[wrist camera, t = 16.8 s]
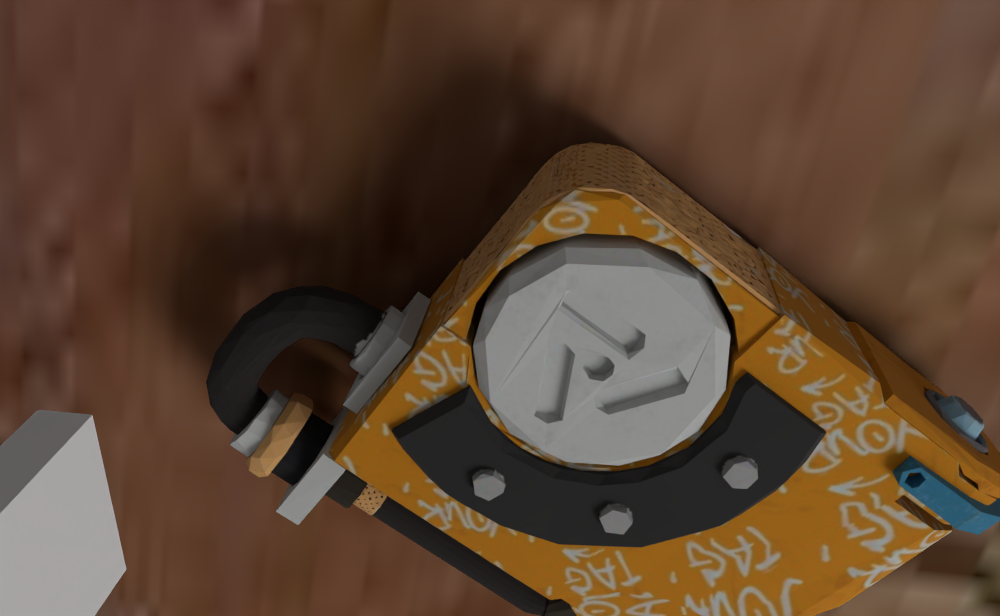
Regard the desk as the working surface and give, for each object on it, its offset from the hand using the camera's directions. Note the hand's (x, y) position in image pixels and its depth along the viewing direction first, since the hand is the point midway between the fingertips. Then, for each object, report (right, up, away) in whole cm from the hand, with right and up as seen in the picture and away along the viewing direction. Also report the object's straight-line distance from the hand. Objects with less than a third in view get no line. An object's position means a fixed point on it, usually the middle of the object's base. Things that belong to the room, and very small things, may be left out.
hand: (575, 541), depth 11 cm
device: (+3, 0, +30) cm, 31 cm away
